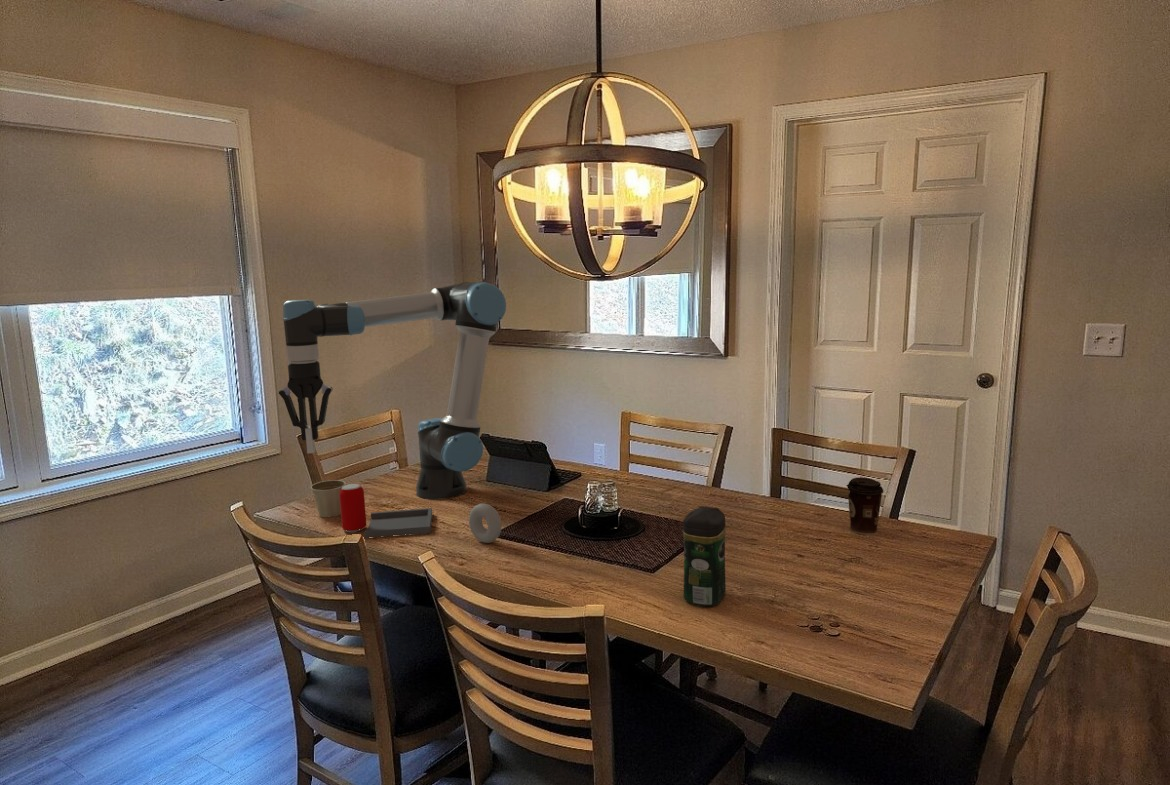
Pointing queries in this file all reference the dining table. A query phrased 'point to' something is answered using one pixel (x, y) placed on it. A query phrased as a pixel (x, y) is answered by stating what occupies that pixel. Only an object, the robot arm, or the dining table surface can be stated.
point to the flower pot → (328, 497)
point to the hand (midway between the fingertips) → (311, 452)
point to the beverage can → (352, 508)
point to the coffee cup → (864, 505)
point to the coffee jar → (704, 556)
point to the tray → (399, 522)
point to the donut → (492, 520)
